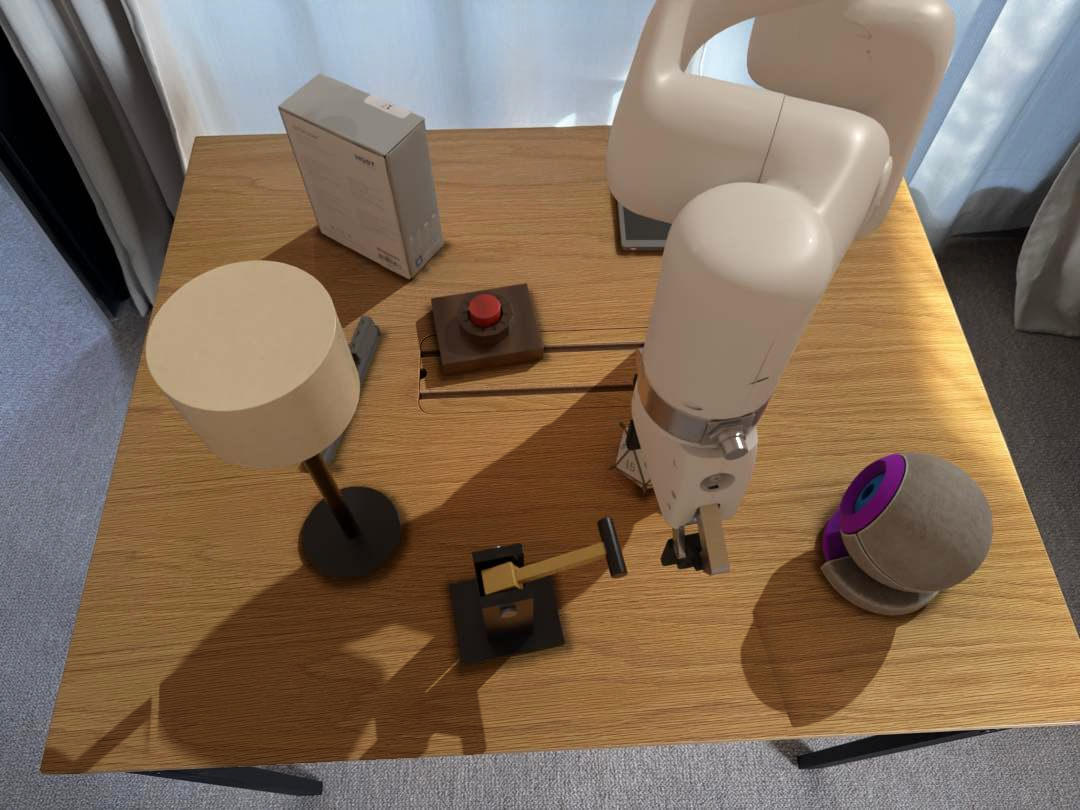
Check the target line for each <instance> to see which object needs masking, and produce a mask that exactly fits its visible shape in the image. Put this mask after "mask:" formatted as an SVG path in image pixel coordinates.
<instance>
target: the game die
mask: <svg viewBox="0 0 1080 810" xmlns="http://www.w3.org/2000/svg"><path fill="white" fill-rule="evenodd" d="M617 423H618V426H619V428H621V429H622V433H621V437H620V441H619V444H618V448H617V453H616V456H615V457H616V458H615V461H614V465H612V464H611V465H609V466H608V467H607V468H606V470H607V471H610V472H612V471H614V470H615V469H616V470H617V471H618V473H620V474H622V475H623V476H624V477H626V478H627V479H629V480H630V481H631V482H632V483H634V484H635V485H636V486H638V487H639V488H640V489H641V491H642V492H643V493H646V492H647V491H648V490H651V489H654V488H653V485H652V482H651V479H650V476H649V472H648V469H647V466H646V463H645V459H644V456H643V453H642V450H641V449H638V450H632V451H630V450H629V449H627V446H626V443H625V441H626V437H627V432H628V427H629V425H628V426H627V425H625V423H624V422H623V421H618V422H617Z"/></svg>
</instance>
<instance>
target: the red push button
mask: <svg viewBox="0 0 1080 810" xmlns="http://www.w3.org/2000/svg"><path fill="white" fill-rule="evenodd" d="M469 311H470V318H471V320H472V322H473V323H474V324H475V325H477V326H479V327H491V326H493V325H495V324H496V323H497V322H498V321H499V319H500V316H501V312H500V303H499V301H498V300H497V299H496V298H495V297H494V296H492V295H488V294H482V295H478V296H476V297H475V298H473V299H472V301H471V302H470V305H469Z"/></svg>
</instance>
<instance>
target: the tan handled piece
mask: <svg viewBox="0 0 1080 810" xmlns="http://www.w3.org/2000/svg"><path fill="white" fill-rule="evenodd" d="M596 526H597V530H598V533H599V534H598V535H599V537H600V540H601V542H598V543H595V544H591V545H588V546H586V547H583V548H582V547H581V548H579V549H576V550H573V551H570V552H566V553H564V554H560V555H557V556H554V557H551V558H548V559H543V560H541V561H538V562H535V563H532V564H528V565H524V567H521V568H518V567H517V566H516V565H514V564H513V563H512V562H508V563H505V564H502V565H498V566H495V567H492V568H489V569H486V570H482V571H481V573H482V578H483V584H484V590H485V595H486V596H488V595H493V594H498V593H503V592H508V591H513V590H518V589H522V588H523V583H526V582H529V581H532V580H535V579H538V578H542V577H545V576H548V575H550V576H552V575H554V574H557V573H561V572H564V571H567V570H570V569H574V568H577V567H580V566H584V565H586V564H590V563H593V562H597V561H600V560H603V559H605V560H606V564H607V568H608V571H609V574H610V575H609V576H610V578H611V579H613V580H614V579H615V580H617V579H621V578H624V577H626V576H627V575H628V574H629V571H628V569H627V568H628V567H627V564H626V561H625V558H624V554H623V551H622V547H621V543H620V540H619V537H618V536H619V535H618V532H617V529H616V525H615V522H614V518H613V517H610V516H606V517H602V518H599V519H598V520H597V521H596Z"/></svg>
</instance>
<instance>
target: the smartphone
mask: <svg viewBox="0 0 1080 810" xmlns="http://www.w3.org/2000/svg"><path fill="white" fill-rule="evenodd" d="M616 202H617V213H618V214H617V215H618V225H619V227H618V228H619V237H620V249H622V250H623V251H664V248H665V244H666V240H667V237H668V233H669V231H670V228H671V226H672V224H671V223H667V222H663V221H659V220H656V219H652V218H649V217H645V216H642V215H639V214H636V213H634V212H632V211H630V210H628V209H627V208H625V207H624V206H623V205H621V204H620V203H619V202H618V201H617V200H616Z"/></svg>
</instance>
